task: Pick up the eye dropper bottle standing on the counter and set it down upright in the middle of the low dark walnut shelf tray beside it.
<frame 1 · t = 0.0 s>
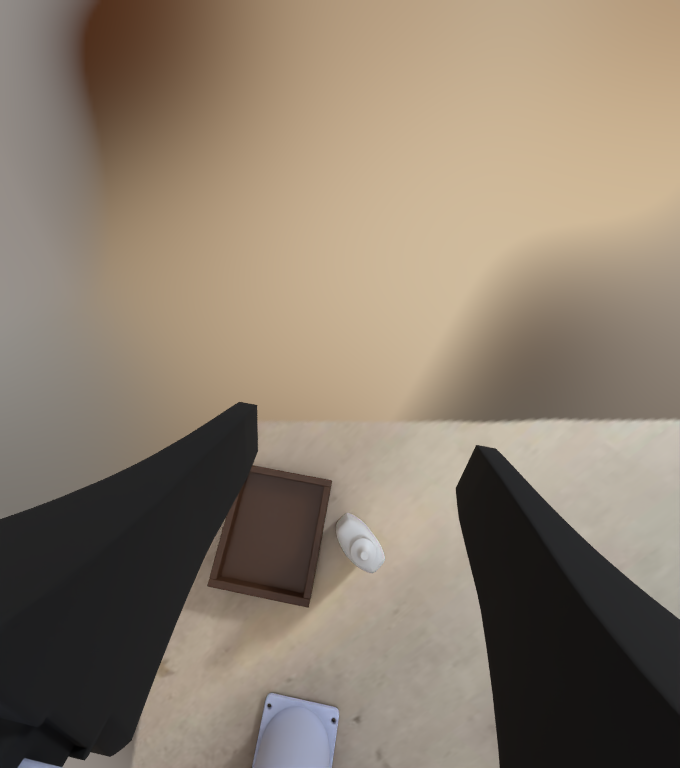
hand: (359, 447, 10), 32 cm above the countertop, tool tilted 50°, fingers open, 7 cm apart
shelf tray: (276, 527, 39), on the countertop
eye dropper bottle: (356, 534, 39), on the countertop
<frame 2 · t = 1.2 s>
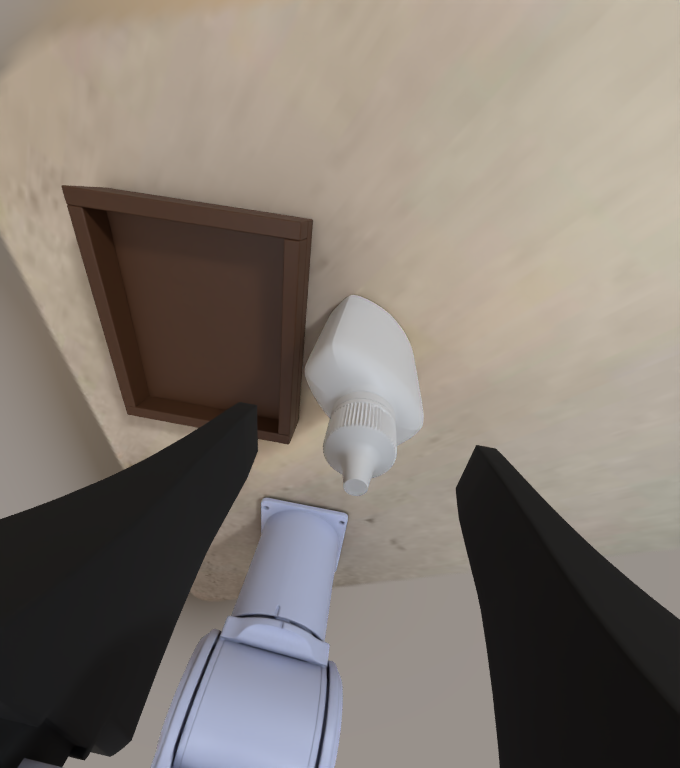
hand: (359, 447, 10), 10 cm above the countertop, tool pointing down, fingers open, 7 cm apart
shelf tray: (217, 323, 20), on the countertop
eye dropper bottle: (372, 333, 19), on the countertop
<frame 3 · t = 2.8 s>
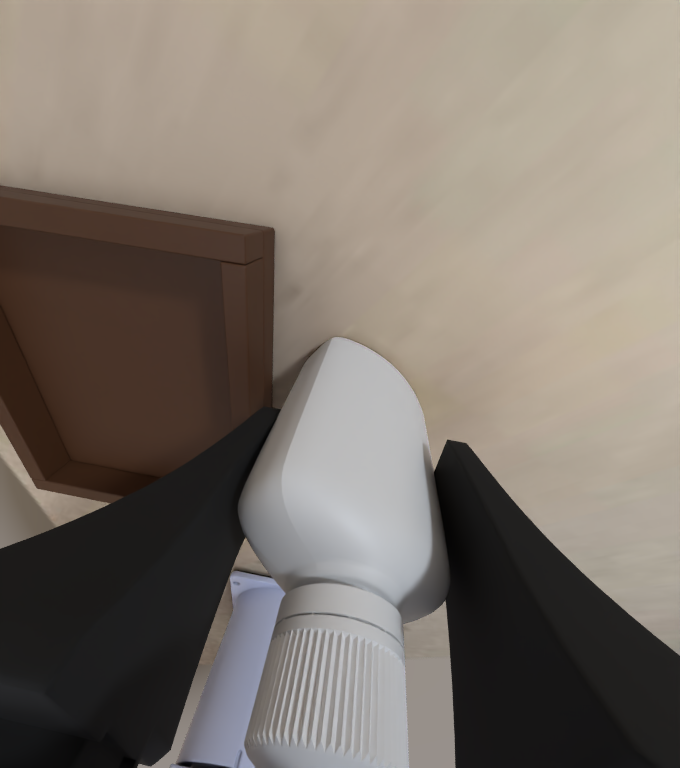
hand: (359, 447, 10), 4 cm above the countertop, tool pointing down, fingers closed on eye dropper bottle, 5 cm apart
shelf tray: (152, 369, 14), on the countertop
eye dropper bottle: (365, 386, 14), on the countertop, touching gripper
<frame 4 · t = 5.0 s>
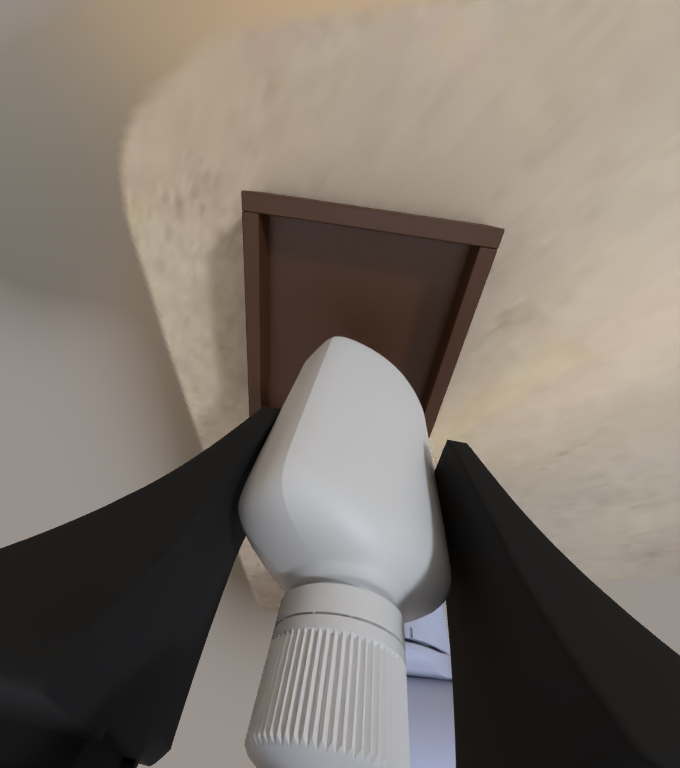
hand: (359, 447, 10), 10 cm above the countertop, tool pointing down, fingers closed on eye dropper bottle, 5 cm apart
shelf tray: (353, 333, 19), on the countertop
eye dropper bottle: (365, 385, 14), point 6 cm above the countertop, touching gripper
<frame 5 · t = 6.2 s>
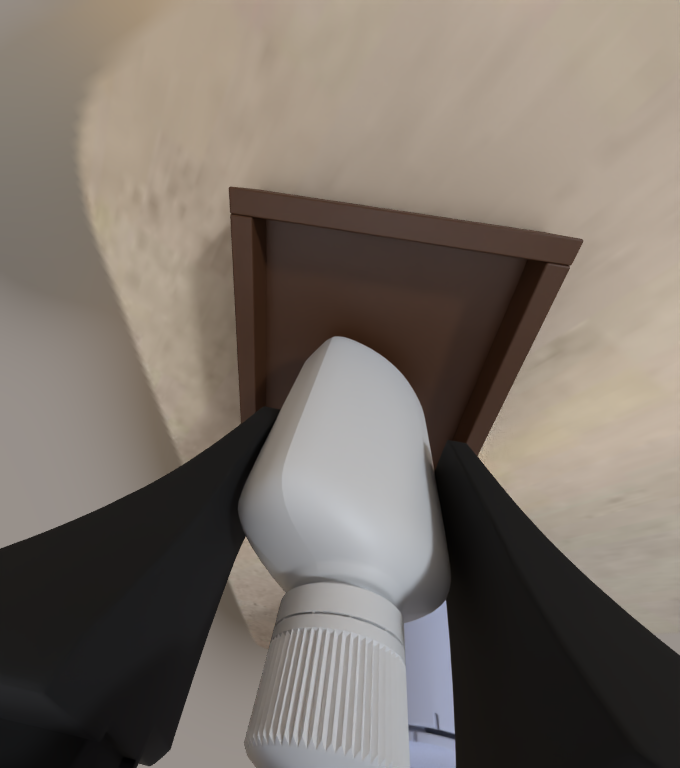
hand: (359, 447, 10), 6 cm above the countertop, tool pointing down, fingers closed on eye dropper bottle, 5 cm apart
shelf tray: (369, 361, 16), on the countertop
eye dropper bottle: (365, 385, 14), point 2 cm above the countertop, touching gripper
when the fingers open (5 cm above the countertop, at t = 7.2 s): eye dropper bottle stays where it is, resting on shelf tray.
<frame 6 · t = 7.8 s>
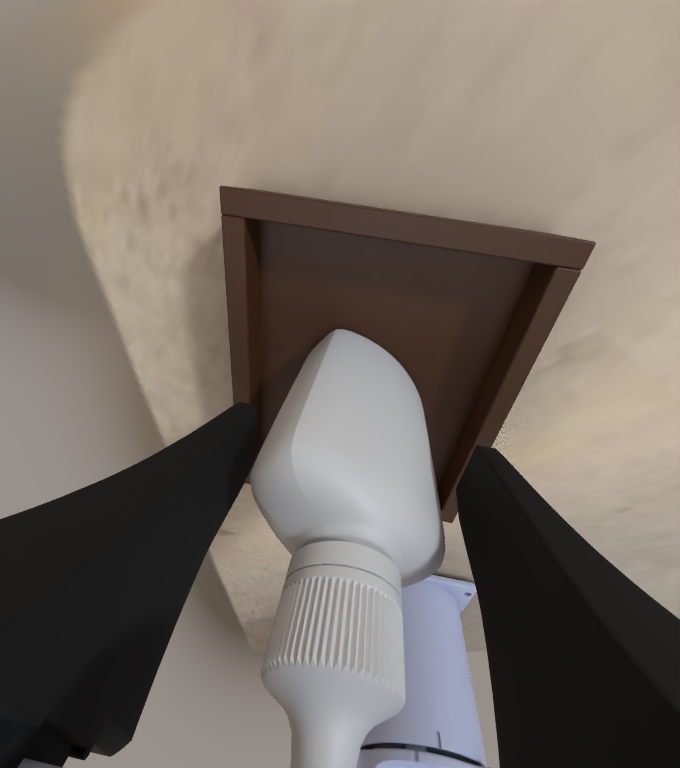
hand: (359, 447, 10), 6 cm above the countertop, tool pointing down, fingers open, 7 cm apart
shelf tray: (368, 367, 15), on the countertop
eye dropper bottle: (366, 377, 14), point 1 cm above the countertop, touching shelf tray
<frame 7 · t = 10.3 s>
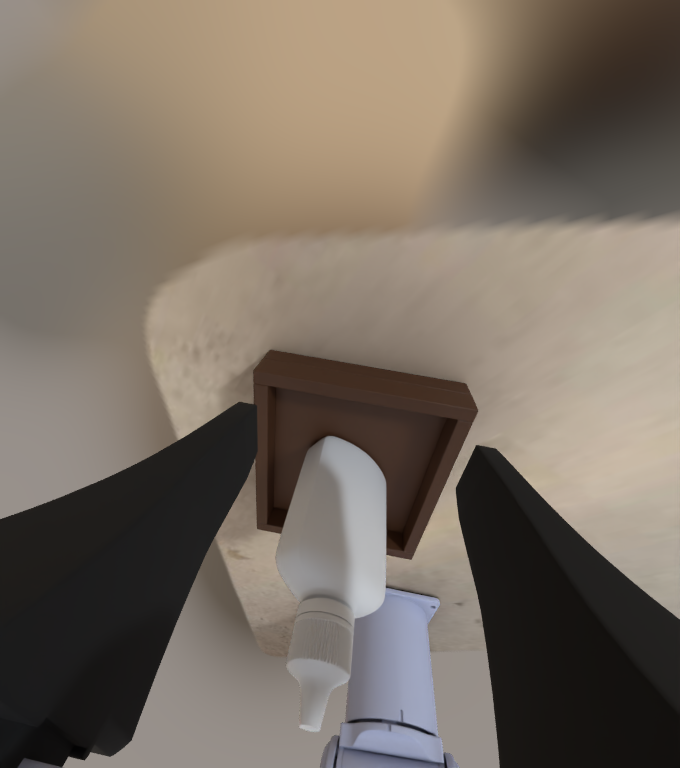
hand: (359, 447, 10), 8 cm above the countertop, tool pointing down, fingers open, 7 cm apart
shelf tray: (350, 451, 21), on the countertop
eye dropper bottle: (348, 461, 21), point 1 cm above the countertop, touching shelf tray
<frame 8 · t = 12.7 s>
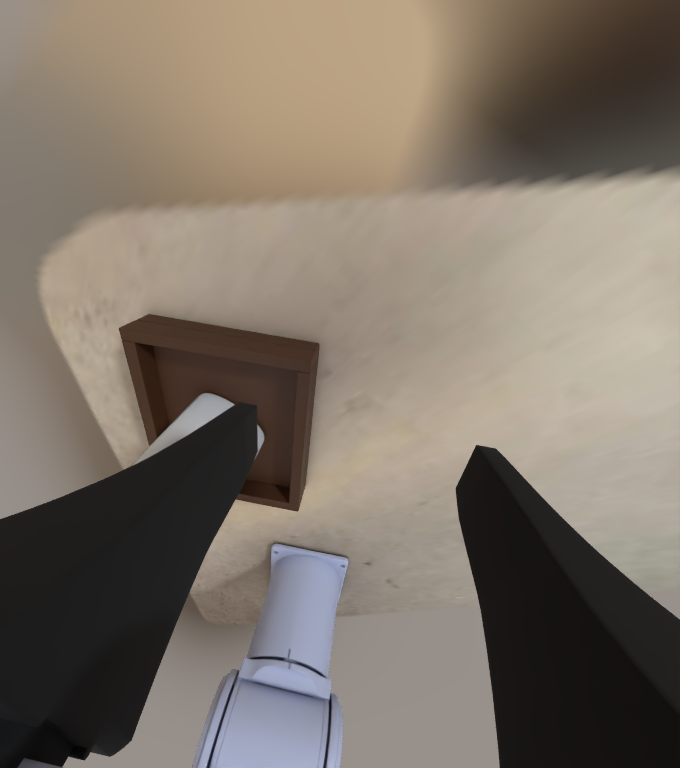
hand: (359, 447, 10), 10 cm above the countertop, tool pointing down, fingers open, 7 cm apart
shelf tray: (237, 411, 24), on the countertop
eye dropper bottle: (231, 418, 23), point 1 cm above the countertop, touching shelf tray
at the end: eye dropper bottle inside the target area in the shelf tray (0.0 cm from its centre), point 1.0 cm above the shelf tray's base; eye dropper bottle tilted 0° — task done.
